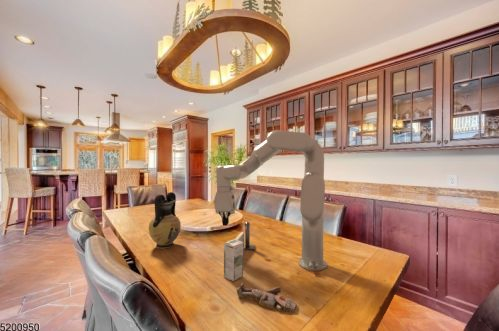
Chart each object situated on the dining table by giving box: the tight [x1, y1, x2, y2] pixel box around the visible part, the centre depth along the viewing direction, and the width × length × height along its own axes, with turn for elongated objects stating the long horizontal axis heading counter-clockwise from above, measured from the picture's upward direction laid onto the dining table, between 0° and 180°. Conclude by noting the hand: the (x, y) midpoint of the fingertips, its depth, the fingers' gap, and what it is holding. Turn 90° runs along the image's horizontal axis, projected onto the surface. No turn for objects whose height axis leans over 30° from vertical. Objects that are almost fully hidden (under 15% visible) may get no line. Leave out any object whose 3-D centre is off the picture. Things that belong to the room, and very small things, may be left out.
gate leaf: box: [234, 231, 245, 249], centre depth 116 cm, size 2×19×8 cm, turn 166°
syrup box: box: [223, 238, 244, 282], centre depth 93 cm, size 6×6×14 cm
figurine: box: [236, 282, 298, 314], centre depth 77 cm, size 7×5×20 cm
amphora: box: [148, 191, 182, 250], centre depth 128 cm, size 18×17×30 cm
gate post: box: [244, 221, 256, 251], centre depth 123 cm, size 5×5×15 cm
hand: (225, 224), depth 116 cm, fingers closed
